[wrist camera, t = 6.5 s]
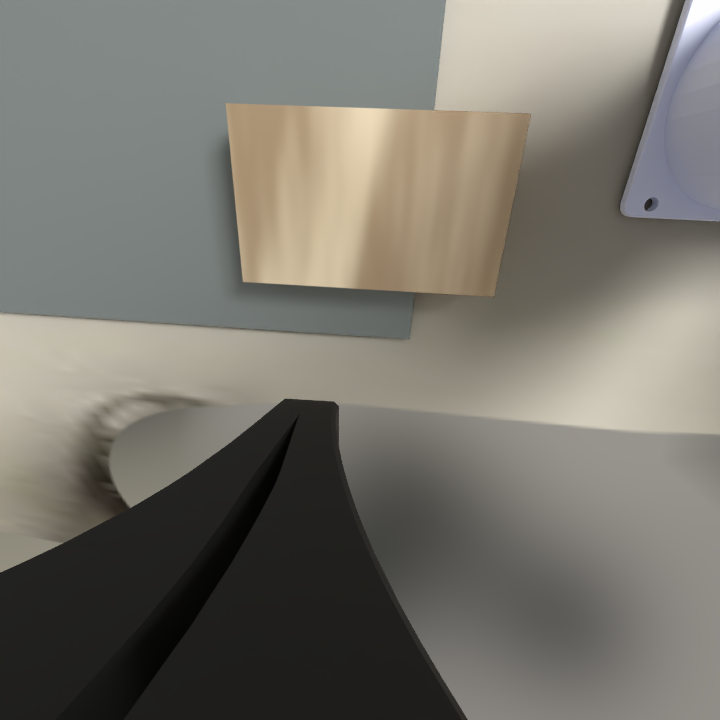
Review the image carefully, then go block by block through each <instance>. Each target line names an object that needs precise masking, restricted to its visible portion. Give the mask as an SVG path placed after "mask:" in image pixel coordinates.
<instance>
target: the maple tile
mask: <svg viewBox="0 0 720 720" xmlns="http://www.w3.org/2000/svg"><path fill="white" fill-rule="evenodd" d="M226 112H227V122H228V133H229V143H230V153H231V164H232V174H233V184H234V194H235V205H236V215H237V225H238V236H239V246H240V256H241V267H242V277H243V282H253V283H270V284H287V285H303V286H320V287H337V288H354V289H370V290H387V291H404V292H421V293H437V294H454V295H471V296H488V297H494V294H495V289H496V284H497V279H498V274H499V269H500V264H501V260H502V255H503V250H504V245H505V240H506V235H507V230H508V225H509V220H510V215H511V210H512V205H513V200H514V195H515V191H516V186H517V181H518V176H519V171H520V166H521V161H522V156H523V151H524V146H525V141H526V136H527V131H528V126H529V122H530V117H531V114H527V113H497V112H468V111H438V110H409V109H380V108H350V107H321V106H291V105H262V104H233V103H226Z"/></svg>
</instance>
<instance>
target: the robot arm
mask: <svg viewBox="0 0 720 720" xmlns="http://www.w3.org/2000/svg"><path fill="white" fill-rule="evenodd" d="M650 198H651V199H652V205H651V207H650V208H649V209H648V210H645V209H644V204H645V203H646V201H647V200H648V199H650ZM620 210H621V213H622V214H623V215H624V216H628V217H638V218H659V219H680V220H701V221H720V0H685V3H684V6H683V9H682V13H681V16H680V19H679V22H678V25H677V28H676V31H675V34H674V38H673V41H672V44H671V47H670V50H669V53H668V56H667V60H666V63H665V66H664V69H663V72H662V75H661V78H660V81H659V85H658V88H657V91H656V94H655V97H654V100H653V103H652V107H651V110H650V113H649V116H648V119H647V122H646V125H645V128H644V132H643V135H642V138H641V141H640V144H639V147H638V150H637V154H636V157H635V160H634V163H633V166H632V169H631V172H630V175H629V179H628V182H627V185H626V188H625V191H624V194H623V197H622V200H621V204H620ZM0 720H467V718H466V716H465V715H464V713H463V711H462V710H461V708H460V706H459V705H458V703H457V702H456V700H455V698H454V697H453V696H452V693H451V692H450V690H449V689H448V687H447V685H446V684H445V682H444V681H443V679H442V678H441V676H440V674H439V672H438V671H437V669H436V667H435V666H434V664H433V662H432V660H431V659H430V657H429V655H428V654H427V652H426V650H425V648H424V647H423V645H422V643H421V642H420V640H419V638H418V636H417V634H416V633H415V631H414V629H413V627H412V625H411V624H410V622H409V620H408V618H407V616H406V615H405V613H404V611H403V609H402V608H401V606H400V604H399V602H398V600H397V598H396V596H395V594H394V592H393V590H392V588H391V586H390V584H389V582H388V579H387V578H386V575H385V573H384V572H383V569H382V567H381V565H380V563H379V561H378V559H377V557H376V555H375V553H374V551H373V549H372V547H371V544H370V542H369V539H368V537H367V535H366V532H365V530H364V528H363V525H362V523H361V520H360V517H359V515H358V512H357V510H356V507H355V504H354V501H353V499H352V495H351V492H350V489H349V486H348V482H347V479H346V475H345V472H344V468H343V464H342V460H341V455H340V450H339V406H338V405H337V404H336V403H335V402H330V401H314V400H298V399H284V400H283V401H282V402H280V403H279V404H278V405H277V406H275V407H274V408H273V409H272V410H271V411H269V412H268V413H267V414H266V415H265V416H263V417H262V418H261V419H260V420H258V421H257V422H256V423H255V424H254V425H252V426H251V427H250V428H249V429H247V430H246V431H245V432H243V434H241V435H240V436H239V437H237V438H236V439H235V440H233V441H232V442H231V443H229V444H228V445H227V446H225V447H224V448H223V449H221V450H220V451H219V452H217V453H216V454H214V455H213V456H211V457H210V458H209V459H207V460H206V461H204V462H203V463H202V464H201V465H199V466H197V467H196V468H195V469H193V470H192V471H190V472H189V473H188V474H186V475H184V476H183V477H181V478H180V479H178V480H177V481H175V482H173V483H172V484H170V485H169V486H167V487H165V488H164V489H162V490H160V491H159V492H157V493H155V494H154V495H152V496H151V497H149V498H147V499H145V500H144V501H142V502H140V503H139V504H137V505H135V506H133V507H132V508H130V509H128V510H126V511H124V512H122V513H120V514H119V515H117V516H115V517H113V518H111V519H109V520H107V521H105V522H103V523H101V524H100V525H98V526H96V527H94V528H92V529H90V530H88V531H86V532H84V533H82V534H81V535H79V536H77V537H75V538H73V539H71V540H69V541H67V542H65V543H63V544H61V545H59V546H57V547H55V548H53V549H51V550H48V551H46V552H44V553H43V554H40V555H38V556H36V557H34V558H32V559H30V560H27V561H25V562H23V563H21V564H19V565H16V566H14V567H12V568H10V569H8V570H5V571H3V572H1V573H0Z"/></svg>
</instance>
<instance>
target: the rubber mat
mask: <svg viewBox="0 0 720 720" xmlns="http://www.w3.org/2000/svg"><path fill="white" fill-rule="evenodd" d="M445 3H446V0H0V312H5V313H21V314H36V315H51V316H66V317H81V318H96V319H111V320H126V321H141V322H156V323H171V324H186V325H201V326H216V327H231V328H247V329H262V330H277V331H292V332H307V333H322V334H337V335H352V336H367V337H382V338H397V339H410V331H411V321H412V312H413V302H414V293H415V292H404V291H387V290H370V289H354V288H337V287H320V286H303V285H287V284H270V283H253V282H243V277H242V267H241V256H240V246H239V236H238V225H237V215H236V205H235V194H234V184H233V174H232V164H231V153H230V143H229V133H228V122H227V112H226V103H233V104H262V105H291V106H321V107H350V108H380V109H409V110H434V106H435V97H436V87H437V78H438V69H439V59H440V50H441V41H442V31H443V22H444V12H445Z"/></svg>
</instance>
